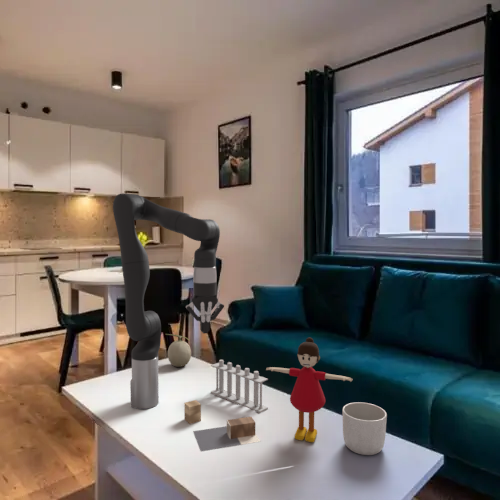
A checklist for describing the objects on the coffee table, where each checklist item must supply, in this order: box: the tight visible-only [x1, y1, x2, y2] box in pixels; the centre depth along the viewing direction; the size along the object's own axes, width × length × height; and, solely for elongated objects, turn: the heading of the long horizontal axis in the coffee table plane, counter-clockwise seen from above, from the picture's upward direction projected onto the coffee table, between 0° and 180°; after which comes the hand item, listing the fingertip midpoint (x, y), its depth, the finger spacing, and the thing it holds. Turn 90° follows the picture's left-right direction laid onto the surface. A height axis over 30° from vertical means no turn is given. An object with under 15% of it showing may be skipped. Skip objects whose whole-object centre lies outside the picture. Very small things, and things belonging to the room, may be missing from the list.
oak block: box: [183, 399, 202, 425], centre depth 138 cm, size 4×4×6 cm
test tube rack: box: [210, 359, 269, 414], centre depth 154 cm, size 25×4×13 cm, turn 48°
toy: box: [265, 336, 353, 443], centre depth 129 cm, size 27×11×30 cm, turn 70°
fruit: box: [165, 333, 192, 368], centre depth 191 cm, size 10×12×15 cm
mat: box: [193, 425, 261, 452], centre depth 128 cm, size 18×12×1 cm, turn 108°
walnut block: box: [226, 416, 256, 439], centre depth 129 cm, size 4×4×8 cm
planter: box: [342, 401, 388, 456], centre depth 122 cm, size 12×12×11 cm
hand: (205, 332), depth 139 cm, fingers closed
